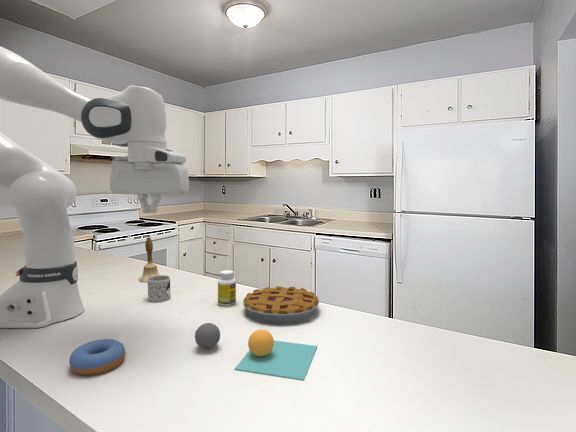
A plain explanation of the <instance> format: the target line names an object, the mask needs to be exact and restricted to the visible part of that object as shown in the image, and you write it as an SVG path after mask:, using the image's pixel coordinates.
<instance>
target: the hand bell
mask: <svg viewBox="0 0 576 432" xmlns="http://www.w3.org/2000/svg"><path fill="white" fill-rule="evenodd" d="M144 244H145V252H146V254H147V263H146V264H144V265H143V270H142V274H141V276H140V277H139V278H138V282H140V283H148V278H150V277H153V276H160V273H159V271H158V266H157V264H155V263H154V262H153V261H154V260H153V250H154V249H153V248H154V243H153V241H152V238H151V237H150V236H148V237H146V241H145V243H144Z"/></svg>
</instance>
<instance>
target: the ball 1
mask: <svg viewBox="0 0 576 432" xmlns="http://www.w3.org/2000/svg"><path fill="white" fill-rule="evenodd" d="M220 339H221V331H220V329H219V327H218V326H217V325H216V324H215V323H211V322H205V323H202V324H200V325H199V326H198V327H197V329H196V331H195V334H194V340H195V343H196V345H197V346H198V347H199V348H201V349H204V350H209V349H213V348H215V347H216V345H218V344H219V341H220Z"/></svg>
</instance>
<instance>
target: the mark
mask: <svg viewBox="0 0 576 432" xmlns="http://www.w3.org/2000/svg"><path fill="white" fill-rule="evenodd" d="M317 348H318V345H315V344H314V345H311V344H305V343H297V342H290V341H281V340H274V346H273V349H272V351H271V352H270V353H269V354H268V355H266V356H263V357H258V356H255V355H254V354H252V353H251V351H250V349H248V351H247V352H246V353H245V354H244V356H243V357H242V359H241V360H240V361H239V363H237V365H236V366H235V368H234V371H240V372H245V373H253V374H260V375H265V376H273V377H280V378H287V379H292V380H299V381H300V380H301V381H304V380H305V378H306V376H307V374H308V371H309V369H310V367H311V366H310V365H311V363H312V362H313V359H314V356H315V353H316V351H317Z"/></svg>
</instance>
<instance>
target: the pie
mask: <svg viewBox="0 0 576 432" xmlns="http://www.w3.org/2000/svg"><path fill="white" fill-rule="evenodd" d="M242 304H243V305H242V306H243V307H244V308H245V309H246V311H247V313H248V315H249V317H251V318H252V319H253V320H257V321H259V322H263V323H268V324H269V323H272V324H291V323H292V324H293V323H295V324H296V323H299V322H303V321H307V320H308V319H309V318H311V317H312V315H314V312H315V310H316V309H318V307H319V304H320V300H319V298H318V296H317V295H315V293H314V292H313V291H307V289H305V288H303V287H301V288H296V287H295V286H290V287H284V286H276V287H269V286H267V287H264V288H263V289H259V288H257V289H254V290H253V292H248V293H246V295H245V296H244V299H243V301H242Z"/></svg>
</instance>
